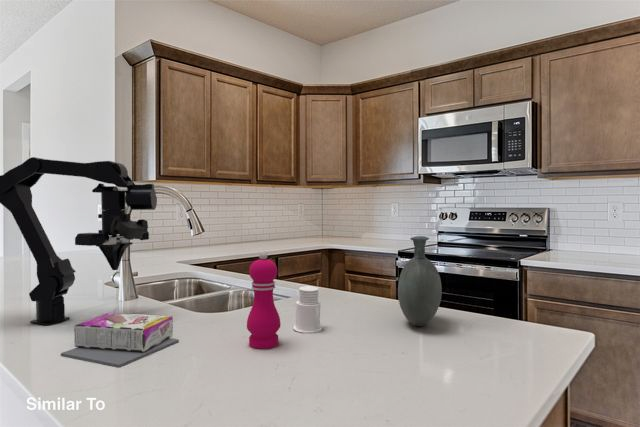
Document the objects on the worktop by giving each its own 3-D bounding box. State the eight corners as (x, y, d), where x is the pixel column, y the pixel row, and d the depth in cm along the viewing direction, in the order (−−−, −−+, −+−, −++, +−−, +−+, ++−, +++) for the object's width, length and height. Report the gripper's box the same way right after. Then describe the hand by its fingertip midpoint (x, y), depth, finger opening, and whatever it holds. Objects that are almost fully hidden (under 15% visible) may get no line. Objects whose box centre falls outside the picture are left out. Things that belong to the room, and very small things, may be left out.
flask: (384, 329, 105) (384, 238, 104) (408, 313, 120) (408, 233, 119) (432, 337, 99) (432, 240, 98) (451, 319, 114) (452, 234, 113)
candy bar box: (108, 310, 102) (173, 315, 99) (108, 332, 102) (173, 337, 99) (73, 323, 91) (144, 328, 88) (73, 347, 91) (144, 353, 88)
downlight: (285, 327, 107) (286, 287, 106) (307, 322, 112) (308, 283, 111) (307, 336, 101) (308, 294, 100) (329, 330, 106) (330, 289, 105)
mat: (60, 355, 88) (60, 353, 88) (125, 333, 103) (125, 331, 103) (119, 367, 82) (119, 364, 82) (178, 341, 97) (178, 339, 97)
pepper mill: (285, 340, 97) (285, 250, 97) (271, 351, 90) (271, 254, 90) (256, 337, 100) (255, 249, 99) (240, 347, 93) (239, 253, 92)
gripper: (105, 211, 102) (107, 277, 103) (163, 209, 120) (164, 266, 120) (72, 211, 107) (74, 274, 107) (133, 209, 124) (134, 264, 125)
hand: (114, 269), depth 115 cm, fingers closed
